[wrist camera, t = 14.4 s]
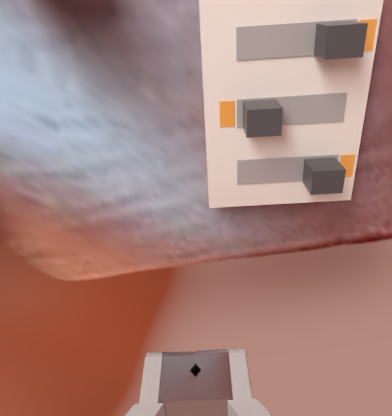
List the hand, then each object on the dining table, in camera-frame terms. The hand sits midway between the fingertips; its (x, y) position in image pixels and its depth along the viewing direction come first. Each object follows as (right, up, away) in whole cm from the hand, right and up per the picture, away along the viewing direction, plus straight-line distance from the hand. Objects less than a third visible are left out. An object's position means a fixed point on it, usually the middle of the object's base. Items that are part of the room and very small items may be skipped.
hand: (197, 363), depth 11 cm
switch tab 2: (+11, +19, +20) cm, 30 cm away
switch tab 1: (+6, +13, +23) cm, 27 cm away
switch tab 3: (+12, +9, +26) cm, 30 cm away
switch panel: (+8, +16, +27) cm, 32 cm away
